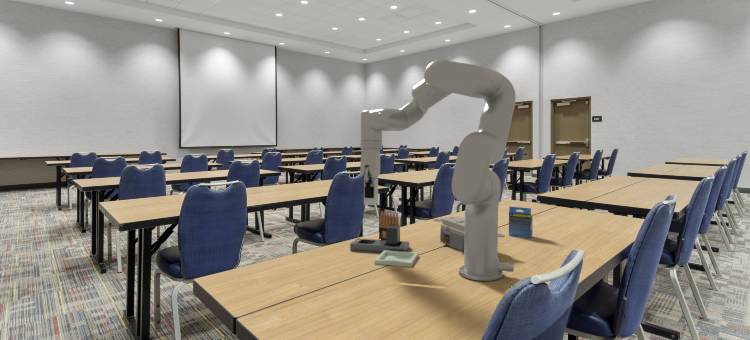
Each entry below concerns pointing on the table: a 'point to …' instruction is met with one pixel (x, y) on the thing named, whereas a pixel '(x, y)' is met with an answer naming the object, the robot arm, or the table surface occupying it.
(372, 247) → the dark grey holder base
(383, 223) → the ammunition clip
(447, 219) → the electrical outlet
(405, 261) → the tray
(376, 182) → the grey rectangular block
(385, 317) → the table surface
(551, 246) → the table surface
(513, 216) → the label tape box
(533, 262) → the table surface
